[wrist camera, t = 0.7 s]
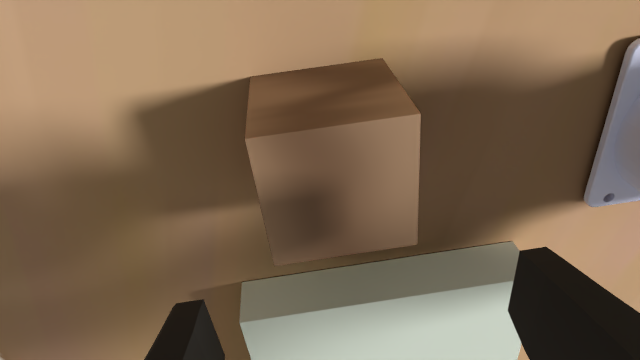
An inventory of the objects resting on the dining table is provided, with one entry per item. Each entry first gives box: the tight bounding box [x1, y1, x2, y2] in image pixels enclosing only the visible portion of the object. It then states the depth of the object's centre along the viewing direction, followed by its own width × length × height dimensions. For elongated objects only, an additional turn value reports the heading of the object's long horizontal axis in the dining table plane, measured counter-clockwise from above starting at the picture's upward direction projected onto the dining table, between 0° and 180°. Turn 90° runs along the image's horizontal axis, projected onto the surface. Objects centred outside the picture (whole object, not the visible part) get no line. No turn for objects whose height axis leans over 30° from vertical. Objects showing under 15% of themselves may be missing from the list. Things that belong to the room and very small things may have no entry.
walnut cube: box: [245, 58, 421, 266], centre depth 16 cm, size 5×5×5 cm
